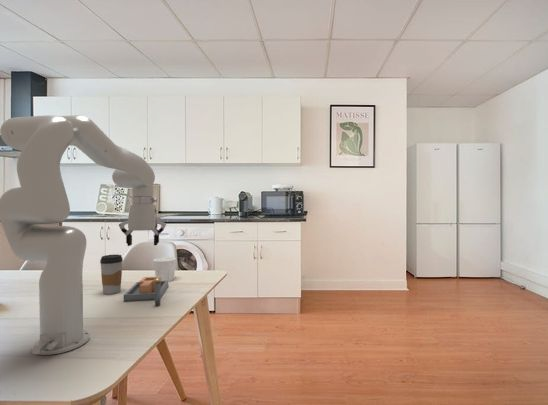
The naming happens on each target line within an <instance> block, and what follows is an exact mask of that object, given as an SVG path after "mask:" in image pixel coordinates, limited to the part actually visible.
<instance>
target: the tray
mask: <svg viewBox="0 0 548 405" xmlns="http://www.w3.org/2000/svg"><path fill="white" fill-rule="evenodd" d="M168 288H169V282H168V281H161V288H160V300H161V298H162V297H163V295H164V294H165V292H166V291H167V289H168ZM145 301H155V292H152V293H141V294H140V293H139V281H136V282H135V283H134V284H133V285H132V286H131V287H130V288H129V289H128V290H127V291H126V292H125V293H124V294H123V303H124V302H125V303H126V302H145Z"/></svg>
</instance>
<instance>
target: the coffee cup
mask: <svg viewBox="0 0 548 405" xmlns="http://www.w3.org/2000/svg"><path fill="white" fill-rule="evenodd" d="M100 258H101V259H100V260H99V263H100V272H101V274H100V276H101V285H102V292H103V294H104V295H108V296H109V295H115V294H118V293H120V291H121V288H122V279H123V278H122V275H123V274H122V273H123V271H122V269H123V259H124V257H122V254H108V255H102V256H101V257H100Z"/></svg>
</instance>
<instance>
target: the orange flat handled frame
mask: <svg viewBox="0 0 548 405" xmlns="http://www.w3.org/2000/svg"><path fill="white" fill-rule="evenodd" d="M154 278H161V277H155V276H144V277H143V278H141V279H140V280H139V281H138V282H139V293H140V294H141V293H152V292H155V282H154ZM160 288H161V281H160Z"/></svg>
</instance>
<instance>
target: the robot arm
mask: <svg viewBox="0 0 548 405" xmlns="http://www.w3.org/2000/svg"><path fill="white" fill-rule="evenodd" d="M0 126H1V127H0V137H1V140H2V141H3V142H4V143H5V145H7V147H9V148H11V149H13V150H16V151H20V154H19V155H18V158H17V162H16V174H17V177H18V182H19V184H20V187H14V188H11V189H8V190H6V191H5V192H4V193H3V194H2V195H1V196H0V223H1V226H2V229H3V231H4V234H5V236H6V239H7V242H8V245H9V247H10V249H11V251H12V252H13V254H14V255H15V257H17V258H18V259H20V260H23V261H27V262H43V263H46V264H45V266H44V268H43V269H42V272H41V274H40V275H39V276H40V277H39V280H38V291H39V292H38V294H39V295H38V296H39V299H38V300H39V339H38V340H36V341H35V342H34V343H33V344H32V347H31V348H32V349H31V354H33V355H41V356H51V355H56V354H57V355H59V354H62V353H66V352H70V351H73V350H75V349H78V348H79V347H81V346H84V344H86V343H87V342H88V341H89V340H90V336H91V334H90V331H89V330H86V329H84V295H83V294H84V293H83V291H84V290H83V288H84V285H83V284H84V283H83V268H84V258H85V254H86V249H87V238H86V235H85V234H84V232H83V231H82V230H80V229H78V228H76V227H74V226H69V225H52V224H58V223H62V222H64V221H66V220H67V219H68V218H69V216H70V213H71V208H70V201H69V198H68V195H67V191H66V188H65V184H64V181H63V180H64V179H63V176H62V173H61V162H62V157H63V155H64V153H65V152H66V150H67V149H68V148H69V146H72V147H76V148H77V149H78V150H80V151H81V152H82V153H83V154H85V155H86V156H87V157H88V158H89V159H90V161H93V163H95V164H96V165H99V166H101V167H104V168H107V169H112V170H113V173H112V175H111V179H112V181H113V183H114V184H115V185H116V186H118V187H119V188H130V189H131V188H132V193H131V194H132V195H131V197H132V198H131V199H132V200H131V204H130V206H129V212H128V218H127V219H126V220H125V221H123V222H121V223H119V224H118V226H119V227H118V228H119V229H120V230H121V232H122V233H123V234H124V235H125V242H126V244H127V247H130V246H132V245H133V235H132V233H133V232H134V231H135V232H138V231H140V232H141V231H144V232H145V231H152V232H153V233H154V235H153V246H157V245H158V244H159V243H160V234H161V233H162V232H163V231H164V229H165V228H166V226H167V223H166V222H164V221H162V220H160V219H158V211H157V205H156V204H155V203H157V202H158V198H155V197H154V183H155V180H156V176H155V175H156V174H155V172H154V170H153V168H152V167H151V166H150V165H149V163H148V162H147V161H146V160H145V159H144V158H143V157H141V156H140V155H138V154H136V153H134V152H132V151H129V150H127V149H125V148H123V147H121V146H118V145H117V144H115V143H114V142H113V141H112V140H111V139H110V137H108V135H107V134H106V133H105V132H104V131H103V130H102V128H100V127H99V126H98V125H97V124H96V123H95V121H93V120H92V119H91V118H90V117H86V116H84V115H76V114H75V115H35V116H34V115H32V116H18V117H17V116H16V117H11V118H8V119H6V120H5V121H4V122H3V123H2V124H1V125H0ZM126 225H127V228H128V230H127V228H126V227H125V226H126ZM158 225H160V228H159V229H158Z"/></svg>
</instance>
